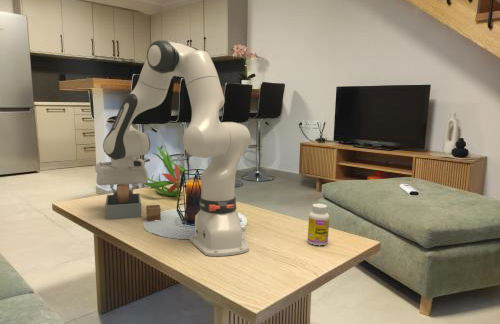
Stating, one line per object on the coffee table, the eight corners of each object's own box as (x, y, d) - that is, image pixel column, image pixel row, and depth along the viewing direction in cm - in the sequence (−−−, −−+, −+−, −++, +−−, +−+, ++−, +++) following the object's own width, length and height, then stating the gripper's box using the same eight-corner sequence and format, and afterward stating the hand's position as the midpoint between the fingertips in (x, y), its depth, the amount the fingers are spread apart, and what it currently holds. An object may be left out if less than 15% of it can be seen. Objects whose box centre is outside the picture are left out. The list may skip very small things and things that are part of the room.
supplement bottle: (312, 247, 118) (314, 208, 116) (304, 240, 125) (306, 203, 123) (331, 245, 120) (333, 207, 118) (322, 238, 126) (324, 202, 124)
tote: (141, 217, 145) (141, 203, 144) (105, 219, 141) (105, 205, 140) (139, 205, 161) (139, 193, 161) (107, 207, 157) (107, 195, 156)
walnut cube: (160, 220, 142) (160, 208, 141) (147, 221, 140) (147, 209, 140) (159, 216, 147) (159, 204, 146) (146, 217, 145) (146, 205, 144)
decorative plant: (167, 215, 166) (134, 200, 186) (210, 196, 182) (175, 184, 203) (157, 161, 158) (124, 151, 178) (203, 146, 174) (168, 138, 195)
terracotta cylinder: (129, 202, 153) (129, 185, 152) (117, 203, 151) (116, 186, 150) (129, 199, 158) (129, 183, 157) (117, 199, 156) (116, 183, 155)
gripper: (94, 163, 146) (95, 197, 148) (148, 162, 152) (148, 194, 154) (95, 161, 152) (96, 193, 154) (147, 160, 158) (147, 191, 160)
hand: (123, 194), depth 154 cm, fingers closed on terracotta cylinder, 5 cm apart
